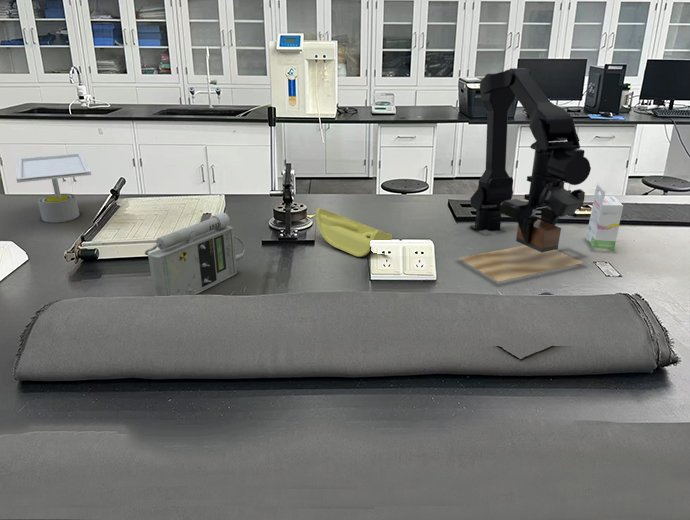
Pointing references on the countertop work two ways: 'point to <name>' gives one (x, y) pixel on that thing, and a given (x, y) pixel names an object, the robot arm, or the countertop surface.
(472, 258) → the board
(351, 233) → the plastic component
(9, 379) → the countertop surface
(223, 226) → the geiger counter
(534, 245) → the brown boxy piece
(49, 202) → the solar panel model
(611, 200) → the ink box
